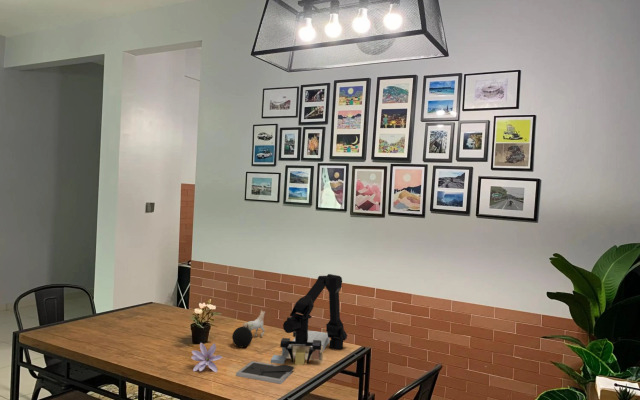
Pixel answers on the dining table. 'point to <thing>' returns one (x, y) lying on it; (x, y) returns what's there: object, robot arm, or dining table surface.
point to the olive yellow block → (300, 357)
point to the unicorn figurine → (256, 324)
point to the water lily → (205, 358)
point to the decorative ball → (242, 336)
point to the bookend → (285, 352)
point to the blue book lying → (278, 359)
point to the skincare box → (318, 338)
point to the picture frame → (266, 372)
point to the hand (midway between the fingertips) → (300, 362)
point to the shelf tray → (305, 352)
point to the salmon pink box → (316, 354)
